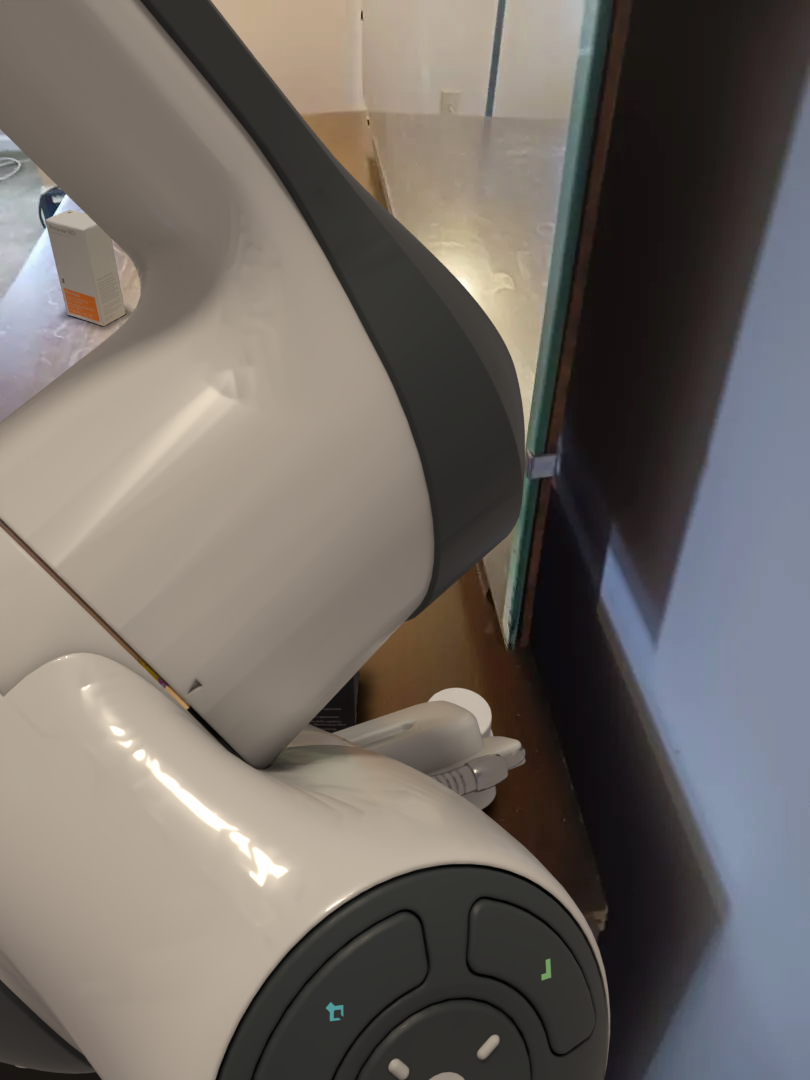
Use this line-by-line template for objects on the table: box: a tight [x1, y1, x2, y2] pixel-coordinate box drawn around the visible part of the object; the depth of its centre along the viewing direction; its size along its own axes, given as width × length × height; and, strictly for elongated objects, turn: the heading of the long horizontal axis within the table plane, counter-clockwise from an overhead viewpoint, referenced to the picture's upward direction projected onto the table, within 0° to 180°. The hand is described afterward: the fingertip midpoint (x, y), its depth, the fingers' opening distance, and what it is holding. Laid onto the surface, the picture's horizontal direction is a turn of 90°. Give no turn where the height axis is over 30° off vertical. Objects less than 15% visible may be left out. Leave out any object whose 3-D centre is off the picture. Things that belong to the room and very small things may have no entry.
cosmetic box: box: [45, 209, 126, 327], centre depth 103 cm, size 6×4×12 cm
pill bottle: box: [427, 687, 494, 738], centre depth 53 cm, size 5×5×8 cm
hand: (222, 791), depth 41 cm, fingers open, 8 cm apart
